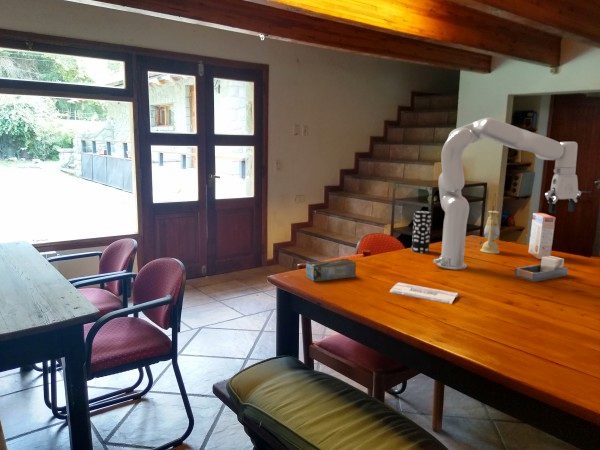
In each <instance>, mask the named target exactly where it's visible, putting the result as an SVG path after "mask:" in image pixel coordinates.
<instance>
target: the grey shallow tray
mask: <svg viewBox="0 0 600 450" xmlns="http://www.w3.org/2000/svg"><path fill="white" fill-rule="evenodd" d="M540 269H541V263H540V264H539V263H538V264H533V265H528V266H527V265H526V266H521V267H515V268H514V273H513V276H514V277H516V278H520V279H523V280H526V281H530V282H533V283H535V282H541V281H545V280H546V281H547V280H551V279H556V278H561V277H565V276H568V271H569V267H567V266H566V267H565V266H563V268H559V269H554V270H548V271H540Z"/></svg>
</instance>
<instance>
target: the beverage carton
mask: <svg viewBox="0 0 600 450" xmlns="http://www.w3.org/2000/svg"><path fill="white" fill-rule="evenodd" d="M356 271H357V264H356V261H353V260H351V259H348V258H339V259H333V260H323V261H314V262H312V261H311V262H306V263H305V277H306V278H308V279H309V280H310V281H312V282H321V281H330V280H332V281H333V280H340V279H345V278H346V279H348V278H356V275H357V274H356Z"/></svg>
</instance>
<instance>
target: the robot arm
mask: <svg viewBox="0 0 600 450" xmlns="http://www.w3.org/2000/svg"><path fill="white" fill-rule="evenodd" d="M484 139H487V140H489V141H492V142H495V143H498V144H499V145H503V146H505V147H508V148H510V149H514V150H519V151H526V152H529V153H532V154H534V155H535V157H536V158H538V159H540V160H543V161H554V162H555V163H554V169H553V173H554V174H553V176H552V179H551V185H550V190H547V192H545V193H544V196H545V199H546V201H547V203H548V204H549V205H548V213H550V214H556V213H557V201H558V200H569V201H568V204H567V212H570V213H575V212H576V205H577V204H576V203H578V200H579V199H580V197H581V195H582V191H580V190H579V182H578V175H577V174H576V170H577V157H578V148H579V147H578V146H579V145H578V143H577V141H560V142H559V141H557V140H555V139H552V138H550V137H547V136H545V135H542V134H538V133H535V132H533V131H532V132H531V131H529V130H527V129H523V128H520V127H518V126H515V125H512V124H510V123H507V122H505V121H502V120H499V119H497V118H493V117H485V118H481V119H478V120H476V121H473V122H471V123H468V124H465V125H463V126H460V127H457V128H455V129H453V130H452V131H451V132H449V134H448V137H447V139H446V141H445V142H444V144H443V147H442V149H441V155H440V159H441V160H440V161H441V173H440V174H439V176H438V181H437V183H438V191H439V200H440V201H439V202H440V205H441V209H442V211H444V218H443V225H442V227H443V228H442V241H441V254H440V255H439V257H438V258H434V259H433V260H432V263H434V264H436V265H437V266H438V267H440V268H443V269H446V270H447V269H448V270H456V271H457V270H459V271H460V270H465V269H466V268H467V264H466V263H465V262H464V257H465V248H466V247H465V246H466V237H467V236H466V235H467V224H468V218H469V213H470V204H469V202H468V200H467V199H466V197H465V196H463V195H462V189H463V188H464V187H465V174H464V173H465V172H464V168H463V166H464V165H463V154H464V151H465V150H466V148H468V147H469V146H470V145H471V144H474V143H475V142H479V141H481V140H484Z"/></svg>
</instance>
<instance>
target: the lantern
mask: <svg viewBox="0 0 600 450" xmlns="http://www.w3.org/2000/svg"><path fill="white" fill-rule="evenodd" d="M496 194H497V193H494V197H493V202H492V204H494V203H495V205H494V206H492V207H491V208H492V209H491V210H489V211H487V213H488V215H489V216H488V217H487V221H486V224H485V227H484V230H483V231H484V232H483V236H484V238H485V239H486V240H487V241H485V242H483V241H480V243H479V245H481V248H480V249H479V251H480V252H482V253H485V254H494V255H495V254H500V250H499V245H498V244H497V243H496V240H498V238H499V237H500V226H499V217H497V216H498V214H499V213H500V211H498V210H495V208H496V204H497V201H495V199H496V198H497V195H496ZM494 201H495V202H494Z"/></svg>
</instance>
